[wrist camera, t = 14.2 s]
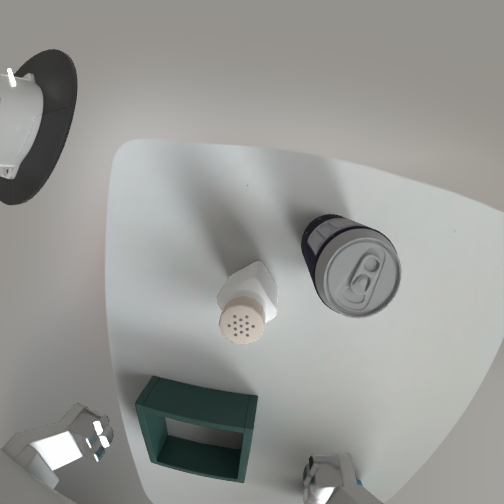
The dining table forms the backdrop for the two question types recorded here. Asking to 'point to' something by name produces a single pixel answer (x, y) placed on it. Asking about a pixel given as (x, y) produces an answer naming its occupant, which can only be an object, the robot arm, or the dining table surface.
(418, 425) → the dining table surface
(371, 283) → the beverage can
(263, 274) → the salt shaker
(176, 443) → the bin
